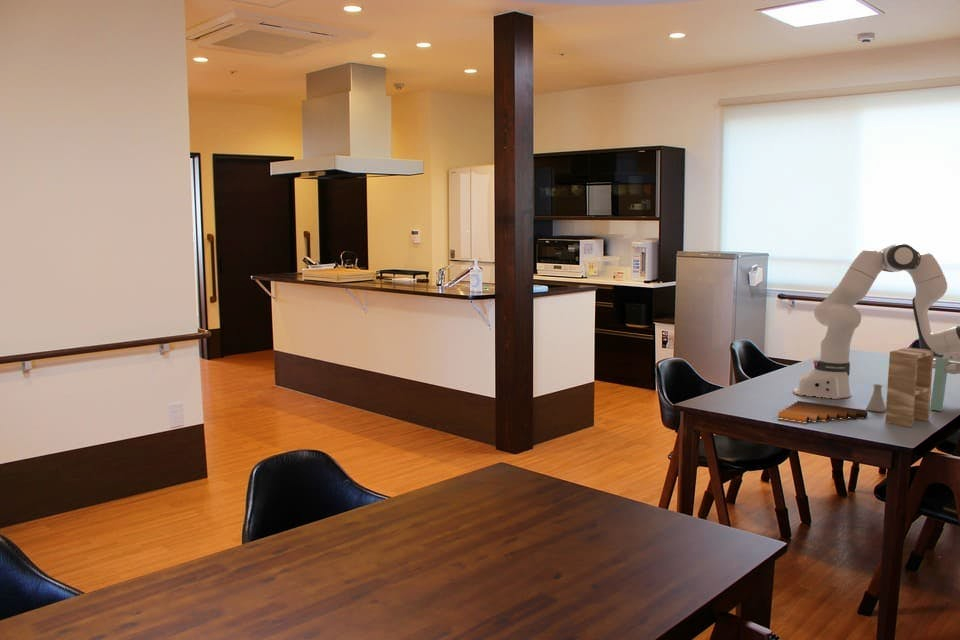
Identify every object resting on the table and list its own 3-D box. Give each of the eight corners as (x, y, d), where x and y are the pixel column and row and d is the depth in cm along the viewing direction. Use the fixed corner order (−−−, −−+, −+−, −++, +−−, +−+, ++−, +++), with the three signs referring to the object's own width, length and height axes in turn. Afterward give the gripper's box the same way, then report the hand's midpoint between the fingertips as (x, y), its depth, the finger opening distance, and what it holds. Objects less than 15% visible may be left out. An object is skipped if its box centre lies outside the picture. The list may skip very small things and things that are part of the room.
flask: (862, 410, 306) (864, 384, 305) (869, 407, 311) (871, 382, 310) (882, 413, 301) (884, 387, 300) (889, 410, 306) (891, 384, 305)
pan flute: (867, 418, 296) (798, 408, 311) (867, 409, 296) (798, 399, 311) (850, 432, 277) (777, 421, 292) (851, 423, 276) (778, 412, 291)
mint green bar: (939, 358, 307) (936, 357, 305) (948, 359, 304) (945, 358, 302) (933, 409, 307) (930, 409, 305) (942, 410, 305) (939, 410, 303)
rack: (902, 415, 297) (907, 347, 294) (928, 420, 290) (933, 350, 287) (885, 422, 288) (889, 351, 284) (911, 427, 281) (916, 354, 278)
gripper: (926, 351, 320) (911, 355, 311) (983, 357, 304) (969, 362, 295) (925, 366, 321) (911, 371, 312) (982, 374, 305) (968, 378, 296)
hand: (940, 366), depth 304 cm, fingers closed on mint green bar, 3 cm apart
